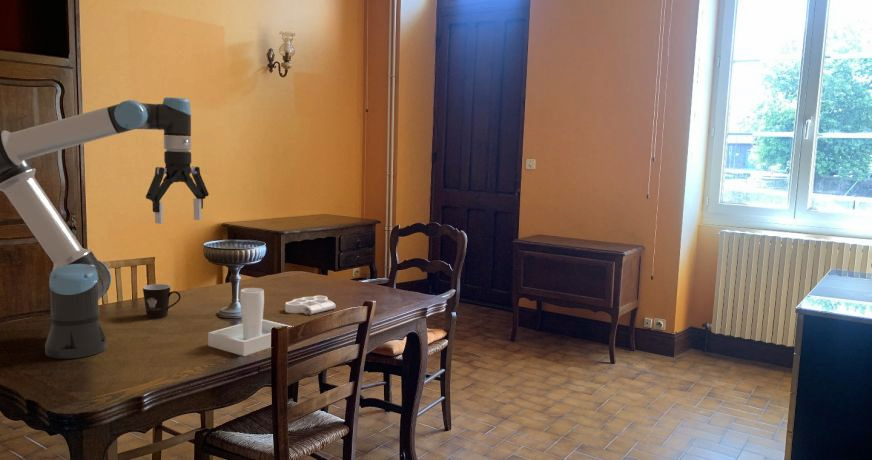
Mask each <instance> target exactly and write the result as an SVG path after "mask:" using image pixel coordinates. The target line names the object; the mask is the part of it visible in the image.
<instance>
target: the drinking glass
mask: <svg viewBox="0 0 872 460" xmlns="http://www.w3.org/2000/svg"><path fill="white" fill-rule="evenodd" d="M239 303H240V304H239V305H240V313H241V324H242V327H243V339H244V340H248V339H251V338H254V337H258V336H261V335H262V321H263V319H264V309H265V307H264V306H265V290H264V289H263V288H261V287H246V288H242V289H241V290H240V300H239Z"/></svg>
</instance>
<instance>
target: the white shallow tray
mask: <svg viewBox="0 0 872 460" xmlns="http://www.w3.org/2000/svg"><path fill="white" fill-rule="evenodd" d="M281 326H288V327H292V325H289V324H284V323H282V322H281V323H279V322H275V321H271V320H268V319H264V318H263V321H262V335H261V336H258V337H254V338H251V339H248V340H244V339H243V327H242V323H238V324H234V325H231V326H227V327H223V328H220V329H216V330H213V331H210V332H209V331H208V333H207V335H208V336H207V343H208V344H207V345H208V347H210V348H215V349H218V350H222V351H225V352H229V353H232V354H235V355H239V356H242V357H246V356H249V355H252V354H255V353H257V352H261V351H264V350H268V349H271V348H272V347H271V329H272V328H273V327H281Z"/></svg>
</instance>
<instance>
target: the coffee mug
mask: <svg viewBox="0 0 872 460" xmlns="http://www.w3.org/2000/svg"><path fill="white" fill-rule="evenodd" d="M142 291H143V298H144V300H143V301H144V305H145V313H146V314H145V315H146V318H148V319H156V320H157V319H163V318H166V317H168V314H169V309H170V308H172V307H174V306H175V305H176V304H178V303H179V302H180V300H181V298H182V297H181V294H180V292H178V291H175V290H173V291H171V285H170V284H166V283H165V284H164V283H162V284H161V283H156V284H155V283H153V284H148V285H147V284H146V285H144V286H142ZM173 293H175V294H177V296H178V299H177V300H176V301H175V302H174V303H172V304H171V305H170V304H169V303H170V297H171V295H172V294H173Z"/></svg>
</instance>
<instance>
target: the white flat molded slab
mask: <svg viewBox="0 0 872 460" xmlns="http://www.w3.org/2000/svg"><path fill="white" fill-rule="evenodd" d="M336 307H337V306H336V303H334V302H333V301H332V300H329V298H328V296H326V295H314V296H302V297H300V298H293V299H292V300H290V301H286V302H285V303H284V309H285V310H284V312H285V313H288V314H305V315H308V314H307V313H309V315H311V316H312V315H313V314H319V313H323V312H326V311H330V310H334V309H336ZM310 312H311V313H310ZM309 315H308V316H309Z"/></svg>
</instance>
